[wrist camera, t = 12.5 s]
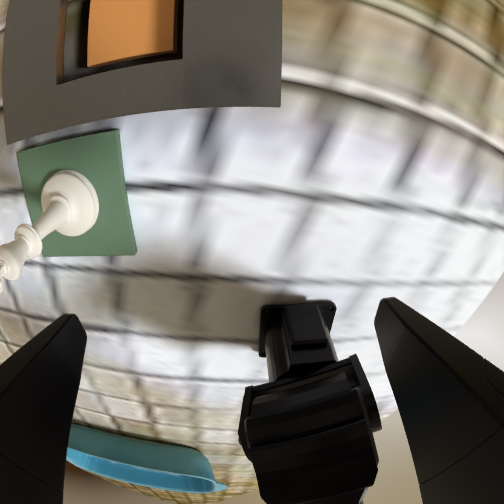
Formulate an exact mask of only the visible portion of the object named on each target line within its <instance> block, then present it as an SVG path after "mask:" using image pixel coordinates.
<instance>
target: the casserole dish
mask: <svg viewBox="0 0 504 504" xmlns="http://www.w3.org/2000/svg"><path fill="white" fill-rule="evenodd" d="M66 460H67V461H69V462H71V463H72V464H74V465H76V466H78V467H80V468H82V469H85V470H87V471H90V472H92V473H95V474H99V475H102V476H105V477H109V478H112V479H116V480H120V481H124V482H128V483H132V484H137V485H142V486H147V487H152V488H158V489H164V490H171V491H178V492H187V493H211V492H215V491H221V490H224V489H226V487H227V486H226V484H224V483H222V482H217V481H216V480H215V478H214V474H213V471H212V468H211V465H210V463H209V461H208V459H207V458H206V457H205V456H204V455H203V454H201V453H200V452H199V451H197V450H195V449H192V448H187V447H182V446H176V445H170V444H164V443H158V442H152V441H147V440H142V439H136V438H132V437H126V436H123V435H118V434H114V433H110V432H106V431H102V430H98V429H94V428H90V427H86V426H82V425H78V424H71V430H70V436H69V443H68V450H67V457H66Z"/></svg>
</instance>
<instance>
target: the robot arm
mask: <svg viewBox="0 0 504 504" xmlns="http://www.w3.org/2000/svg"><path fill="white" fill-rule="evenodd" d="M331 307H332V308H331ZM329 308H330V309H329ZM265 311H268V312H265ZM335 312H336V305H335V303H333V302H324V303H307V304H286V305H265V306H262V307H261V309H260V325H259V348H258V353H259V356H260V357H266V358H267V367H268V376H269V383H265V384H261V385H257V386H253V385H252V386H248V387H246V388H245V394H244V397H243V403H242V410H241V416H240V423H239V429H238V435H239V438H238V440H239V443H240V445H242V448H243V450H244V453H245V455H246V457H247V458H248V459H249V460H250V461H251V462H252V463H253V467H254V470H255V473H256V477H257V481H258V486H259V491H260V496H261V498H262V499H263V500H264V501H265V502H266V503H267V504H363V497H364V495H365V493H366V491H367V489H368V487H370V486H373V484H374V481H375V478H376V475H377V472H378V468H377V466H378V462H379V459H378V454H377V450H376V446H375V441H374V437H373V432H376V431H379V430H381V429H382V426H381V420H380V415H379V411H378V408H377V404H376V401H375V398H374V395H373V392H372V390H371V387H370V385H369V382H368V380H367V378H366V375H365V373H364V371H363V368H362V366H361V364H360V362H359V359H358V357H357V355H356V354H354V355H351V356H349V358H346V359H344V360H341V361H338V358H337V355H336V352H335V348H334V345H333V342H332V339H331V336H330V331H331V327H332V323H333V320H334V316H335ZM374 325H375V330H376V334H377V337H378V341H379V345H380V349H381V354H382V358H383V362H384V366H385V370H386V373H387V376H388V379H389V382H390V385H391V388H392V391H393V394H394V397H395V400H396V403H397V406H398V409H399V412H400V416H401V419H402V422H403V425H404V429H405V432H406V435H407V439H408V443H409V446H410V450H411V454H412V458H413V462H414V465H415V469H416V474H417V477H418V482H419V484H420V485H419V487H420V492H421V497H422V501H423V504H504V372H503V371H502V370H500V369H499V368H497V367H496V366H495V365H493V364H492V363H490V362H489V361H488V360H486V359H483V357H482V356H481V355H479V354H478V353H476V352H475V351H474V350H472V349H470V348H469V347H468V346H467V345H465V344H464V343H462V342H461V341H459V340H458V339H456V338H455V337H454V336H452V335H451V334H449V333H448V332H446V331H445V330H443V329H442V328H441V327H439V326H438V325H436V324H435V323H433V322H432V321H430V320H429V319H427V318H426V317H424V316H423V315H421V314H420V313H418V312H417V311H415V310H414V309H412V308H411V307H409V306H408V305H406V304H405V303H403V302H402V301H400V300H398V299H397V298H395V297H389V298H383V299H381V301H380V303H379V306H378V310H377V313H376V316H375V320H374ZM86 342H87V335H86V332H85V330H84V328H83V326H82V324H81V322H80V320H79V318H78V317H77V316H76V315H75V314H68V313H66V314H63V315H62V316H60V317H59V318H58V319H56V320H55V321H54V322H52V323H51V324H50V325H49V326H47V327H46V328H45V329H43V330H42V331H41V332H40V333H38V334H37V335H36V336H35V337H33V338H32V339H31V340H30V341H28V342H27V343H26V344H25V345H24V346H22V347H21V348H20V349H19V350H17V351H16V352H15V353H14V354H13V355H11V356H10V357H9V358H8V359H7V360H6V361H4V362H3V363H2V364H1V365H0V504H63V488H64V476H65V466H66V457H67V450H68V443H69V436H70V430H71V424H72V419H73V413H74V408H75V403H76V399H77V394H78V389H79V385H80V379H81V373H82V366H83V360H84V354H85V348H86Z"/></svg>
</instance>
